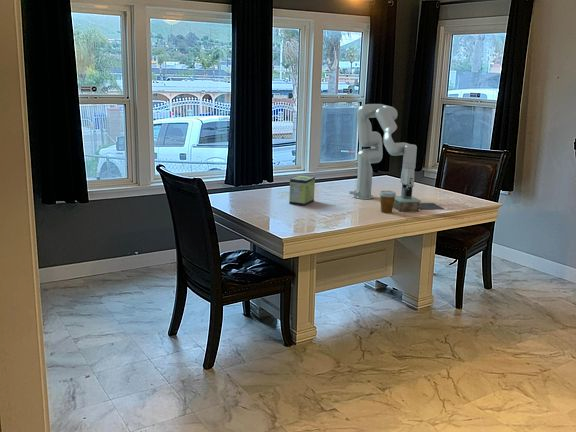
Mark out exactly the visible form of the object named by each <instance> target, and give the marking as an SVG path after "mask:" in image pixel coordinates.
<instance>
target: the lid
mask: <svg viewBox="0 0 576 432" xmlns="http://www.w3.org/2000/svg"><path fill="white" fill-rule="evenodd" d="M406 192H407V188H402V187H401V194H400V195H396V196H395V200H397V201H399V202H420V203H422V202H421V201H422V200H421V199H419V198H418V197H415V196H414V195H412V196H406Z"/></svg>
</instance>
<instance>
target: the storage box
mask: <svg viewBox="0 0 576 432" xmlns="http://www.w3.org/2000/svg"><path fill="white" fill-rule="evenodd" d="M419 203H421V202H399V201H397V200H395V199H394V204H393V209H394V210H395V211H397V210H398V211H397V212H399V213H412V212H413V213H417V212H420V209H419Z"/></svg>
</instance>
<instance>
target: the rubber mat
mask: <svg viewBox="0 0 576 432" xmlns="http://www.w3.org/2000/svg"><path fill="white" fill-rule="evenodd" d="M419 210H420V211H421V210H422V211H424V210H445V208H444V207H442V206H441V205H438V204H436V203H435V202H420V203H419Z"/></svg>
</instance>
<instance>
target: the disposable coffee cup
mask: <svg viewBox="0 0 576 432" xmlns="http://www.w3.org/2000/svg"><path fill="white" fill-rule="evenodd" d="M395 196H397V194H396V192H395V191H392V190H381V191H380V193H379V197H380V210H381V211H380V212H381V213H383V214H391V213H393V209H394V208H393V204H394V199H395Z"/></svg>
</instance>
